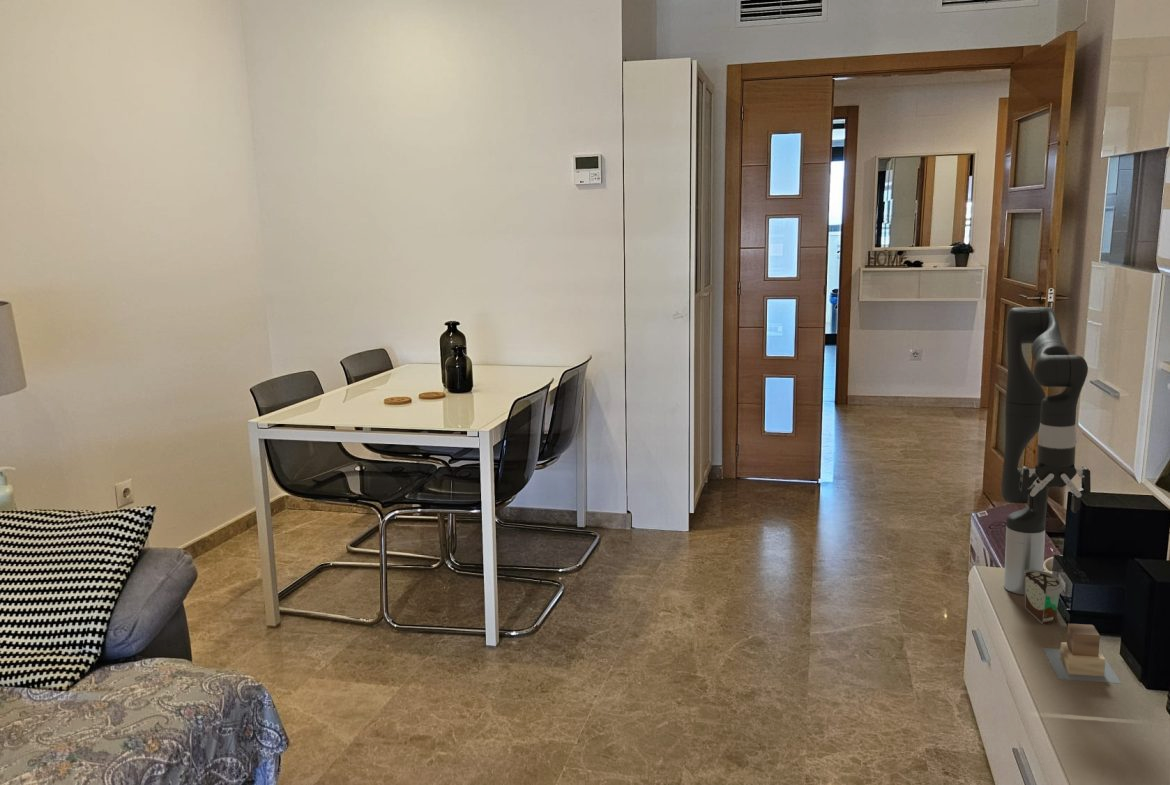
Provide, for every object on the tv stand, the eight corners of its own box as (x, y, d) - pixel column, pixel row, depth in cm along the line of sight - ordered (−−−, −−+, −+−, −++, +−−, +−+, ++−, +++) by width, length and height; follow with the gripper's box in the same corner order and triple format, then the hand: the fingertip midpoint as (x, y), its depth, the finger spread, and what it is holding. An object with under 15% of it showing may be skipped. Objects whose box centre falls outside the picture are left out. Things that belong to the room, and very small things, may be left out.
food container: (1071, 626, 217) (1073, 587, 215) (1045, 627, 217) (1047, 588, 215) (1046, 604, 229) (1048, 567, 227) (1022, 605, 229) (1023, 568, 227)
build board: (1042, 650, 206) (1042, 648, 206) (1100, 653, 203) (1100, 651, 203) (1058, 681, 193) (1058, 679, 193) (1120, 685, 190) (1121, 683, 190)
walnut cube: (1066, 644, 199) (1067, 623, 198) (1091, 645, 198) (1092, 624, 197) (1072, 655, 194) (1074, 633, 193) (1098, 656, 193) (1099, 635, 192)
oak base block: (1060, 658, 201) (1060, 642, 200) (1094, 660, 199) (1095, 643, 199) (1068, 674, 194) (1069, 657, 194) (1104, 676, 193) (1105, 659, 192)
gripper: (1086, 438, 203) (1083, 506, 206) (1018, 438, 206) (1015, 505, 209) (1096, 447, 195) (1092, 517, 199) (1026, 446, 199) (1023, 516, 202)
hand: (1053, 511), depth 204 cm, fingers open, 8 cm apart
